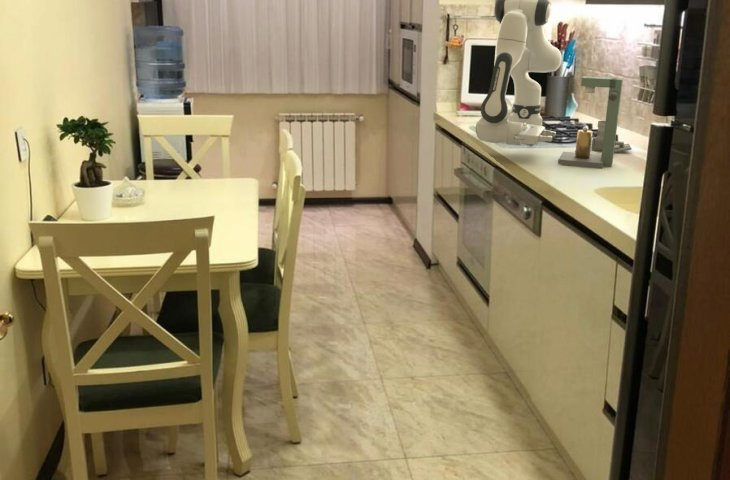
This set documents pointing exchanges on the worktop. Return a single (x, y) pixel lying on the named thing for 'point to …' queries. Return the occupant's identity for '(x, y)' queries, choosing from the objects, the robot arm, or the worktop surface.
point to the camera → (598, 141)
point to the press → (610, 124)
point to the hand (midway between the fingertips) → (553, 136)
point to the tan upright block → (583, 143)
